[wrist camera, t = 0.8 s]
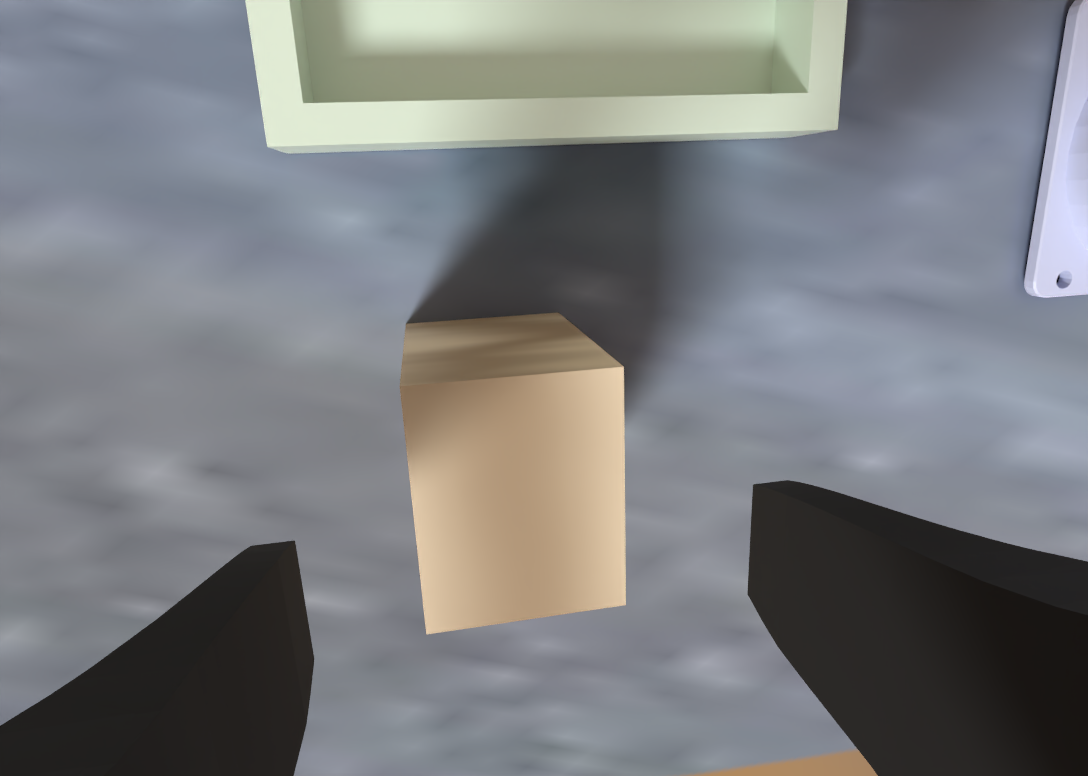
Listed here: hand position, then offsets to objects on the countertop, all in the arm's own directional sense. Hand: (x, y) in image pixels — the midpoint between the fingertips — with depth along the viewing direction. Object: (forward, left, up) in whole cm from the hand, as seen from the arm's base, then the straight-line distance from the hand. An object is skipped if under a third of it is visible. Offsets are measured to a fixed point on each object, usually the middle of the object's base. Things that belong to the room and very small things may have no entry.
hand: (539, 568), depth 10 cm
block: (0, 0, -8) cm, 8 cm away
